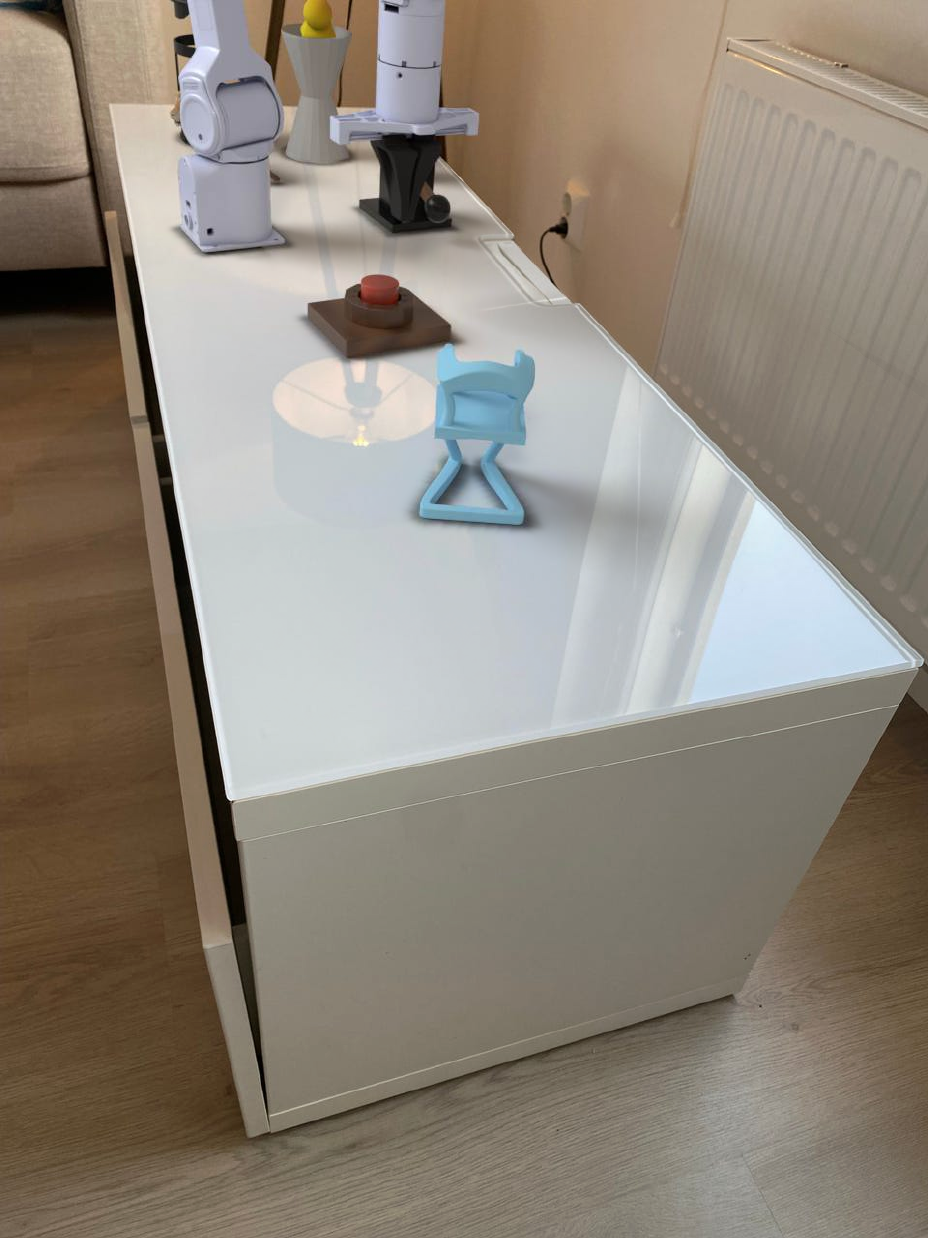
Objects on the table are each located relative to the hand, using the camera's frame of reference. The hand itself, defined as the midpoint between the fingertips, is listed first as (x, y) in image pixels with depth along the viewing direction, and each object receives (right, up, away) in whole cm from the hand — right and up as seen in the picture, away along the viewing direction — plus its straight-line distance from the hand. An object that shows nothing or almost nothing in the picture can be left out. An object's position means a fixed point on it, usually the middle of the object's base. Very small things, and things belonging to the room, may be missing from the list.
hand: (402, 216), depth 98 cm
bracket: (-1, +10, +24) cm, 26 cm away
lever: (+1, +10, +20) cm, 22 cm away
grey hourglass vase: (-14, +25, +41) cm, 50 cm away
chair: (+7, -29, -20) cm, 36 cm away
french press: (-29, +28, +42) cm, 58 cm away
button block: (-2, -11, 0) cm, 11 cm away
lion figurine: (-25, +18, +31) cm, 44 cm away
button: (-2, -9, -2) cm, 9 cm away
